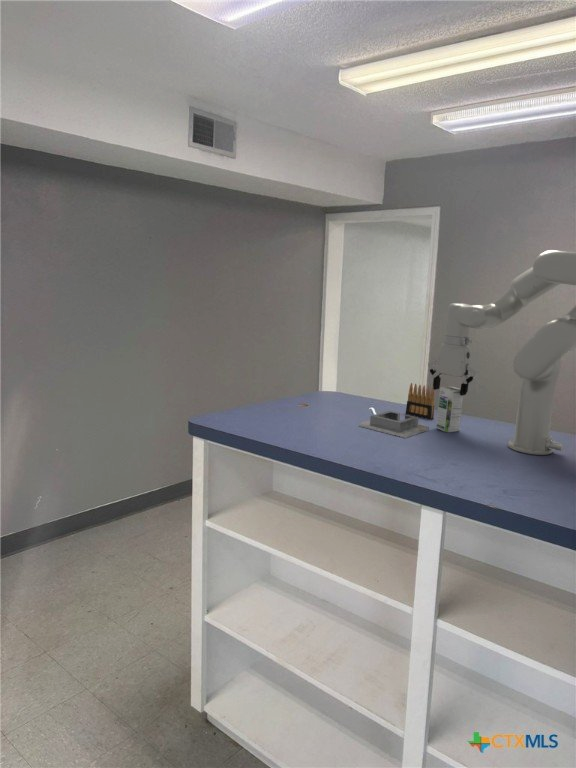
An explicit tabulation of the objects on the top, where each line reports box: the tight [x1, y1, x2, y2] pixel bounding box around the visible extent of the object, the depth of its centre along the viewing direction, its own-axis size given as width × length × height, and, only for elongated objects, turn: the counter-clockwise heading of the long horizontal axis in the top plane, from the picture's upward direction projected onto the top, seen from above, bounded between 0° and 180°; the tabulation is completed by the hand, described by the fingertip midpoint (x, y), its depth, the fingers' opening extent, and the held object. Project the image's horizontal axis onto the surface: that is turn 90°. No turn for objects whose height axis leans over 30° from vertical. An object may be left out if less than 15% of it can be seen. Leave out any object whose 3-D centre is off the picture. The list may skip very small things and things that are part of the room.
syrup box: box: [435, 385, 464, 433], centre depth 179 cm, size 6×6×14 cm
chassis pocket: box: [358, 410, 430, 439], centre depth 179 cm, size 18×15×4 cm
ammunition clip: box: [405, 382, 435, 420], centre depth 196 cm, size 11×2×12 cm, turn 46°
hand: (449, 392), depth 178 cm, fingers open, 9 cm apart
